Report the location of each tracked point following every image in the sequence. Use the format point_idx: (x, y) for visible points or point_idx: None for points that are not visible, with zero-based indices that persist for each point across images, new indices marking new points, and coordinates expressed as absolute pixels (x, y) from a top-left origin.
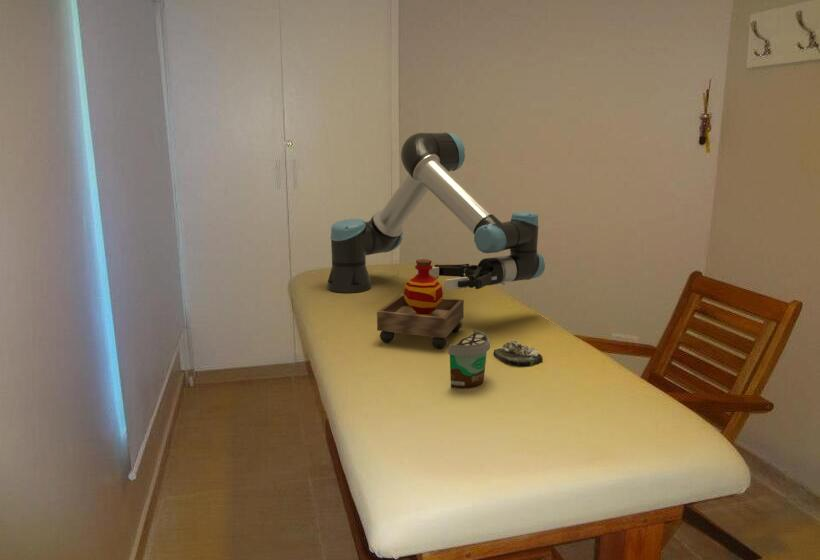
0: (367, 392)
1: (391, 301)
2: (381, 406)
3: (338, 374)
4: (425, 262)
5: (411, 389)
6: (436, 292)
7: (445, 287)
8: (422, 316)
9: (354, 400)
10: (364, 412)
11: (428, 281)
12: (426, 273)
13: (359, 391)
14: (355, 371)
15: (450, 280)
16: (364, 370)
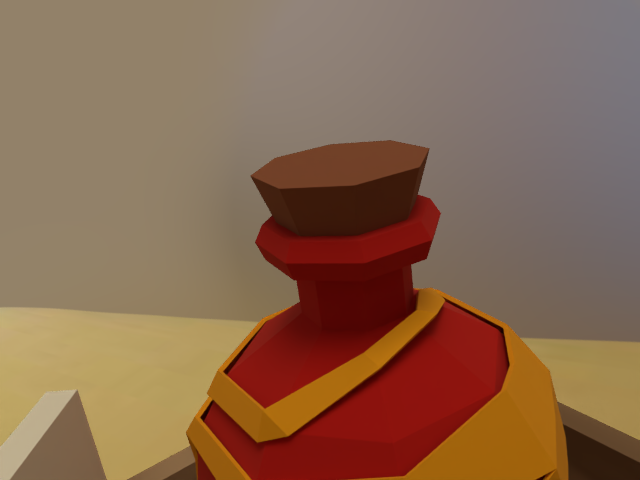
0: (98, 351)
1: (595, 420)
2: (20, 354)
3: (239, 332)
4: (267, 165)
5: (3, 421)
6: (199, 463)
7: (92, 458)
8: (184, 449)
9: (94, 329)
10: (37, 331)
11: (253, 344)
12: (301, 287)
13: (118, 342)
14: (225, 358)
15: (21, 428)
16: (213, 374)
